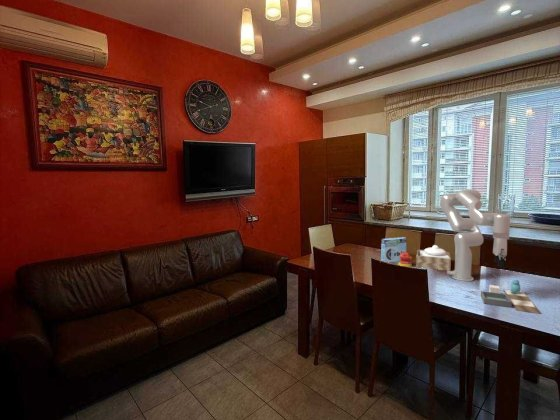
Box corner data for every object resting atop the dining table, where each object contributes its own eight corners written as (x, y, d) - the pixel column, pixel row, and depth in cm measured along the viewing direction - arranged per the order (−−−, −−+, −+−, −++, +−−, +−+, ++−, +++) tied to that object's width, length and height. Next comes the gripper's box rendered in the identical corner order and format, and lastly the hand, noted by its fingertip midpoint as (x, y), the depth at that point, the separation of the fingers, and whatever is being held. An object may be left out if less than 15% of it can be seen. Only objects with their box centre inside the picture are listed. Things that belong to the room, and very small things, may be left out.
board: (516, 310, 153) (516, 309, 153) (503, 289, 181) (503, 289, 181) (541, 314, 148) (541, 313, 148) (524, 292, 177) (524, 292, 177)
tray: (483, 303, 162) (484, 298, 161) (480, 296, 172) (480, 291, 172) (511, 307, 156) (511, 302, 156) (506, 299, 167) (506, 294, 167)
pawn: (511, 293, 174) (512, 280, 174) (510, 291, 178) (510, 278, 177) (520, 294, 173) (521, 281, 172) (518, 292, 176) (519, 279, 176)
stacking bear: (411, 281, 199) (412, 255, 197) (395, 279, 204) (396, 253, 202) (414, 276, 208) (414, 251, 206) (398, 274, 213) (399, 250, 212)
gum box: (402, 265, 236) (402, 236, 234) (406, 267, 231) (407, 238, 229) (380, 267, 231) (380, 238, 229) (384, 269, 226) (385, 239, 224)
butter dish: (423, 267, 230) (424, 247, 228) (419, 261, 247) (419, 242, 245) (449, 268, 225) (450, 248, 223) (442, 262, 242) (443, 242, 241)
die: (490, 294, 174) (490, 287, 174) (488, 292, 178) (489, 284, 178) (500, 296, 172) (500, 288, 171) (498, 293, 176) (499, 285, 176)
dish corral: (415, 267, 231) (416, 255, 230) (417, 260, 251) (417, 249, 250) (450, 270, 220) (450, 258, 219) (448, 263, 241) (449, 252, 240)
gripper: (490, 233, 182) (488, 260, 183) (496, 237, 166) (495, 268, 167) (505, 233, 178) (503, 262, 180) (513, 238, 163) (511, 269, 164)
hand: (499, 264), depth 174 cm, fingers open, 9 cm apart
